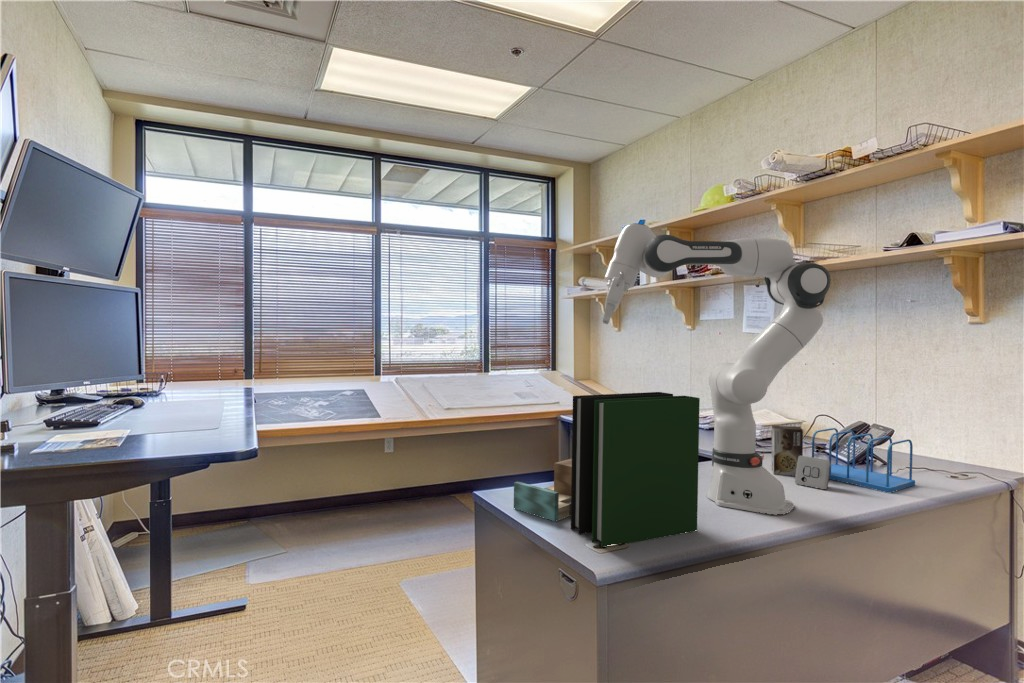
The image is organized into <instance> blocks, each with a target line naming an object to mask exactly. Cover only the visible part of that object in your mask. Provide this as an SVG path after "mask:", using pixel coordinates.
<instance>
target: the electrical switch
mask: <svg viewBox="0 0 1024 683" xmlns="http://www.w3.org/2000/svg"><path fill="white" fill-rule="evenodd" d="M831 465H832V463H831V464H830V461H829V459H823V458H818V457H814V458H813V457H812V456H805V455H803V456H799V457H798V462H797V469H796V476H794V477H795V479H794V482H795V484H796V485H797V484H799V485H798V486H802V485H805V486H804V487H807V486H811V487H810V488H812V487H817V488H821V489H826V490H827V489H828V488H827V487H829V482H830V481H829V480H830V479H829V474H830V466H831ZM817 488H816V489H817ZM821 489H820V490H821Z"/></svg>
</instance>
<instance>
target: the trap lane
mask: <svg viewBox="0 0 1024 683" xmlns="http://www.w3.org/2000/svg"><path fill="white" fill-rule="evenodd" d="M514 508H515V509H514ZM513 509H514V510H516V509H518V510H517V511H519V510H521V511H520V512H522V511H525V512H528V513H527V514H529V513H531V514H530V515H532V514H535V515H538V516H541V517H544V518H547V519H550V520H549V521H551V520H553V521H552V522H554V521H555V522H557V521H556V520H558V521H560V520H563V519H565V518H564V517H566V518H567V516H568V517H571V516H570V515H571V496H568V495H564V494H561V493H559V492H555V491H554V485H551V486H548V487H544V488H543V487H540V486H536V485H533V484H528V483H525V482H522V481H515V482H513ZM525 512H524V513H525ZM535 515H534V516H535ZM538 516H537V517H538ZM541 517H540V518H541ZM544 518H543V519H544ZM562 518H563V519H562ZM547 519H546V520H547ZM559 519H560V520H559Z"/></svg>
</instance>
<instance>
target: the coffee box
mask: <svg viewBox="0 0 1024 683" xmlns="http://www.w3.org/2000/svg"><path fill="white" fill-rule="evenodd" d="M803 439H804V429H803V428H802V427H801V426H797V425H796V426H794V425H793V426H792V425H775V424H772V425H771V465H770V466H771V468H770V469H771V473H772V475H778V474H779V475H778V476H791V475H794V477H796V469H797V462H798V457H799V456H804V454H803V451H804V448H803V447H804V446H803V445H804V442H803V441H804V440H803Z"/></svg>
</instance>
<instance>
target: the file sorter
mask: <svg viewBox="0 0 1024 683" xmlns="http://www.w3.org/2000/svg"><path fill="white" fill-rule="evenodd" d="M827 431H835V432H834V433H831V435H830V437H829V441H828V442H829V443H828V444H829V450H828V451H829V452H828V460H829V461H830V464H831V466H830V474H829V478H830V479H829V480H831V479H834V480H833V481H836V480H839V481H838V482H840V481H843V482H842V483H844V482H848V483H847V484H849V483H853V484H857V485H861V486H865V487H864V488H866V487H868V488H867V489H870V488H873V489H872V490H874V489H877V490H876V491H878V490H881V491H880V492H883V491H885V492H884V493H887V492H892V493H894V492H893V491H895V492H897V491H896V490H898V491H900V490H899V489H901V490H903V488H904V489H907V488H909V487H913V485H914V486H916V480H915V479H913V442H912V440H911V439H903V440H899V441H894V442H893V440H892V438H891V436H888V435H886V436H880V437H876V438H874V437H873V434H872V433H870V432H869V433H862V434H855V432H854V430H846V431H845V430H844V431H838V429H837V428H836V427H832V428H831V427H830V428H825V429H818V430H816V431H814V433H813V435H812V443H811V444H812V445H811V457H813V458H815V438H816V435H817V434H819V433H820V432H827ZM848 433H851V434H852V436H850V437H849V438H848V440H847V449H846V450H847V451H846V452H847V456H846V457H847V458H846V460H847V461H846V465H843V464H838V462H839V460H838V459H839V435H842V434H848ZM834 436H836V439H835V440H836V442H835V463H833V464H832V452H833V451H832V450H833V449H832V446H833V445H832V443H833V438H834ZM866 436H869V437H870V439H869V441H868V443H867V445H866V463H865V464H866V468H865V469H864V468H858V467H856V466H855V465H856V438H860V437H866ZM885 439H888V440H889V444H888V447H887V453H886V454H887V455H886V456H887V457H886V473H883V472H882V473H881V472H877V471H873V470H874V442H875V441H881V440H885ZM852 440H853V441H852ZM851 441H852V442H853V443H852V446H853V447H852V466H850V461H851V460H850V459H851V458H850V456H851V455H850V454H851V452H850V451H851ZM907 442H908V443H909V476H908V477H909V478H906V477H902V476H896V475H892V473H893V472H892V471H893V470H892V469H893V462H892V461H893V446H894V445H897V444H902V443H907ZM869 464H870V465H869ZM869 468H870V469H869ZM853 484H852V485H853ZM857 485H856V486H857ZM861 486H860V487H861ZM906 487H907V488H906Z"/></svg>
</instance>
